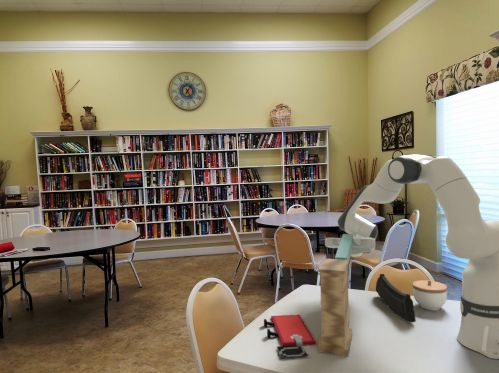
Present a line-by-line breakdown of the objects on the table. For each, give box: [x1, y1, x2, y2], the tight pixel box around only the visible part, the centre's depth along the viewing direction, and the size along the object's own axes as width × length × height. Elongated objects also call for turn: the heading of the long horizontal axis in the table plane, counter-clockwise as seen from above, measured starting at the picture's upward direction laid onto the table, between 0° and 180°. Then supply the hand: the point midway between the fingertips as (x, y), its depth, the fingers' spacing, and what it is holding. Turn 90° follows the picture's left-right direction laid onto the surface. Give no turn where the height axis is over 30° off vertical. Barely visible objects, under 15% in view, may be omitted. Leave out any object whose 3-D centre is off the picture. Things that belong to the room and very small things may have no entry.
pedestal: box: [317, 258, 353, 357], centre depth 109 cm, size 9×15×26 cm, turn 158°
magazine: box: [375, 273, 417, 323], centre depth 134 cm, size 17×3×30 cm
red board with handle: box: [263, 314, 317, 358], centre depth 116 cm, size 30×3×15 cm
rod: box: [334, 233, 354, 262], centre depth 126 cm, size 4×22×4 cm, turn 156°
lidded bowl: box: [411, 279, 448, 311], centre depth 136 cm, size 13×13×11 cm
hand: (347, 240), depth 133 cm, fingers closed on rod, 4 cm apart
